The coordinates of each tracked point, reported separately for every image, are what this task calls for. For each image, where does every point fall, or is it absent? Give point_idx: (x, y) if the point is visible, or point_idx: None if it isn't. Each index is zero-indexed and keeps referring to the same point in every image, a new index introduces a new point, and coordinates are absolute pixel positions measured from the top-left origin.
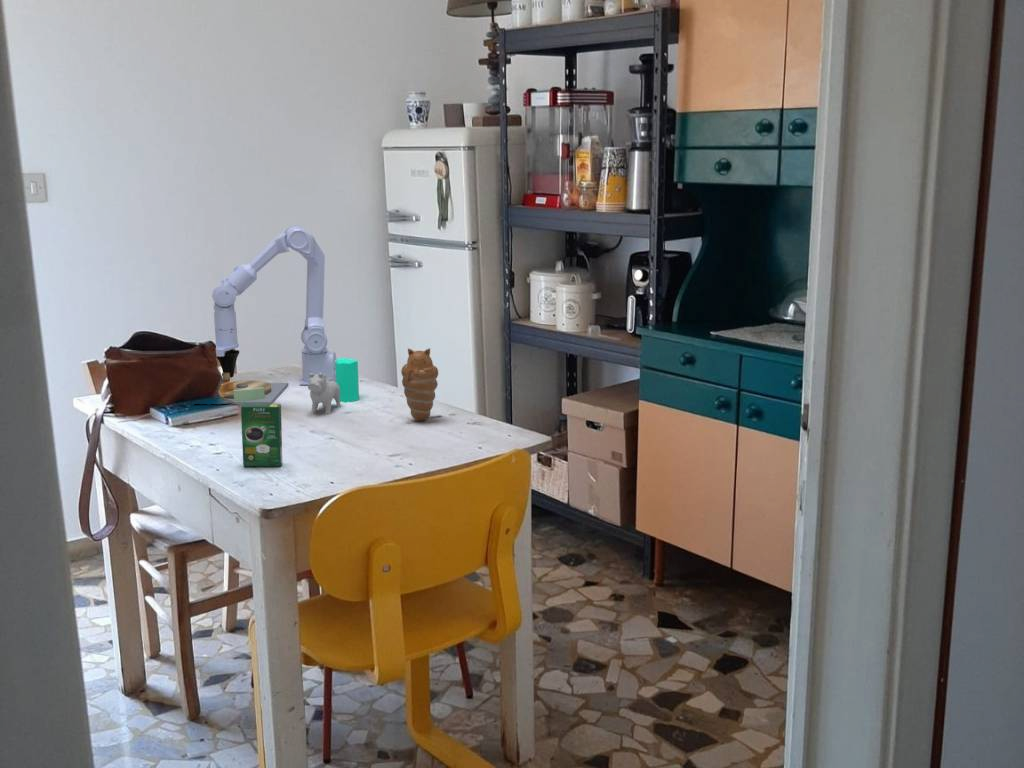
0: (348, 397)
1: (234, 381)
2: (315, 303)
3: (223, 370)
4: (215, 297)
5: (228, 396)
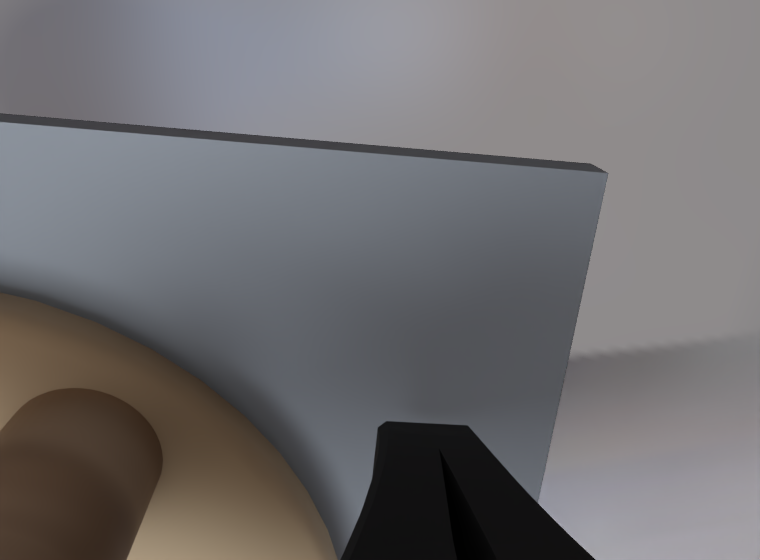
0: None
1: (294, 539)
2: None
3: (365, 511)
4: None
5: None
